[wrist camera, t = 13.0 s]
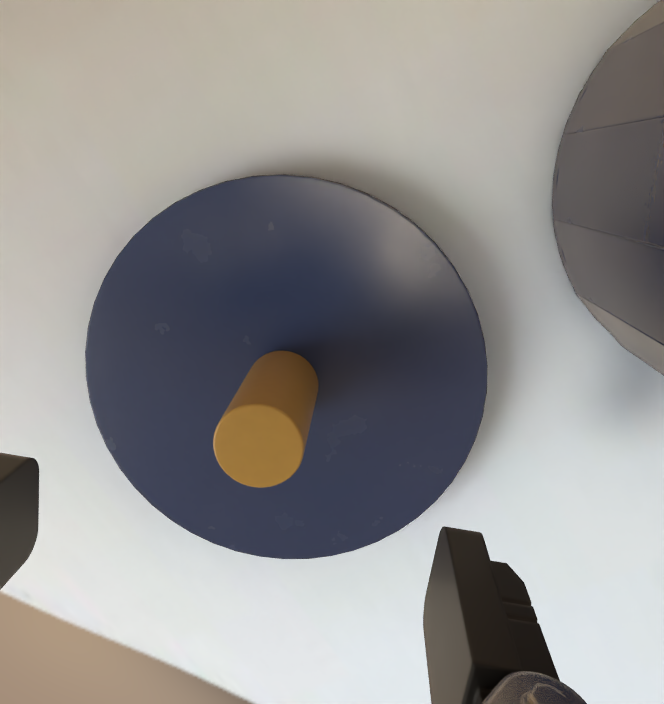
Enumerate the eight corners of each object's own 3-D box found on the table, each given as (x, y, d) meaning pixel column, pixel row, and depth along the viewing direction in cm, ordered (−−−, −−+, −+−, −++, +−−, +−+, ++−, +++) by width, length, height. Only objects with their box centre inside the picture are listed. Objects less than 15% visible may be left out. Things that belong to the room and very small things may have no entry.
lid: (52, 458, 24) (-52, 553, 18) (171, 103, 20) (89, 75, 14) (380, 594, 25) (384, 726, 19) (554, 278, 21) (627, 320, 15)
